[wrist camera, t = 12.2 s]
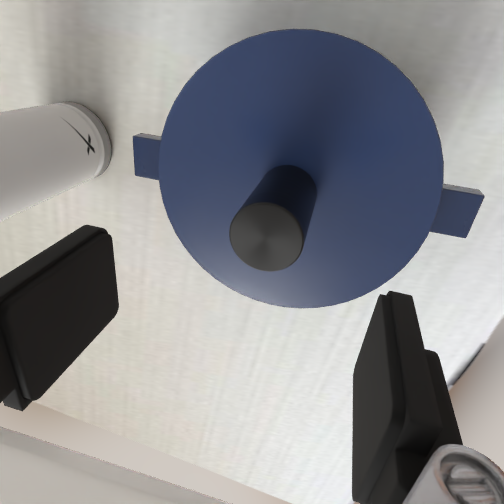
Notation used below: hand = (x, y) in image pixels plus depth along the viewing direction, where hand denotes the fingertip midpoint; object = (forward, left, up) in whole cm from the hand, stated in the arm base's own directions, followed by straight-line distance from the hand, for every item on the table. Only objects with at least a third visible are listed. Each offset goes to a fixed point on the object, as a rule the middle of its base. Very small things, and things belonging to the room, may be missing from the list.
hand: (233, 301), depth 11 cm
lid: (0, 0, -10) cm, 10 cm away
